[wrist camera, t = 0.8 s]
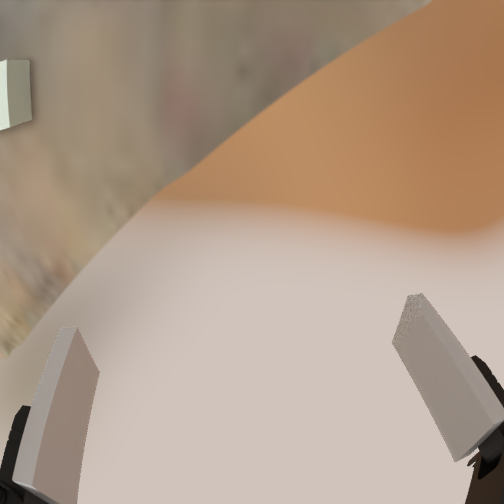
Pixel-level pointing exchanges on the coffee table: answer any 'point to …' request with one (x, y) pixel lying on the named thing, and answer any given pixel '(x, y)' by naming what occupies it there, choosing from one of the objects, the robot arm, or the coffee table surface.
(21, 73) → the sage block
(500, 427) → the robot arm
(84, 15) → the coffee table surface
